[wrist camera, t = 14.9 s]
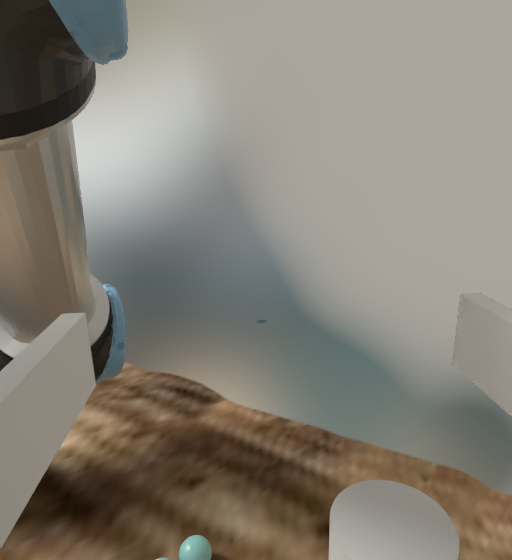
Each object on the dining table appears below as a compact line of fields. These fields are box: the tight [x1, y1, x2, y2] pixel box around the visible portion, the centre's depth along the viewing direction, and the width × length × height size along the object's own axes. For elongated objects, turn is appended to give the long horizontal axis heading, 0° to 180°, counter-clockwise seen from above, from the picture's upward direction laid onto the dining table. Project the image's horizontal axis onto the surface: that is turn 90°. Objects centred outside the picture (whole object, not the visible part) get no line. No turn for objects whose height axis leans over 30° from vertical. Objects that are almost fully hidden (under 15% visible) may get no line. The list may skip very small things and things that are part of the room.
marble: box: [179, 535, 212, 560], centre depth 39 cm, size 3×3×3 cm
